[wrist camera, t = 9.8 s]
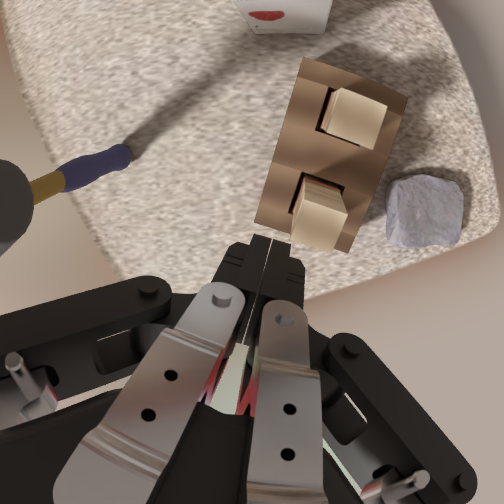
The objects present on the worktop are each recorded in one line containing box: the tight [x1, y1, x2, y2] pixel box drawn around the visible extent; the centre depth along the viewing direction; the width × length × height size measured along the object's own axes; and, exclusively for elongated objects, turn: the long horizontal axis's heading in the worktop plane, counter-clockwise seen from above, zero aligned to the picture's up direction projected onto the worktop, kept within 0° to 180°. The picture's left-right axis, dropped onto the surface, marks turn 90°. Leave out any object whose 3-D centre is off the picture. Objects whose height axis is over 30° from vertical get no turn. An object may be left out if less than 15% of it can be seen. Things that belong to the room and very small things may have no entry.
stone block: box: [385, 174, 464, 249], centre depth 35 cm, size 12×5×10 cm
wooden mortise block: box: [254, 57, 408, 253], centre depth 32 cm, size 20×12×6 cm, turn 165°
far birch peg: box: [290, 172, 348, 253], centre depth 31 cm, size 4×4×13 cm
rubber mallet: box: [0, 144, 132, 256], centre depth 27 cm, size 12×8×30 cm, turn 110°
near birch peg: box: [320, 88, 387, 150], centre depth 26 cm, size 4×4×13 cm
